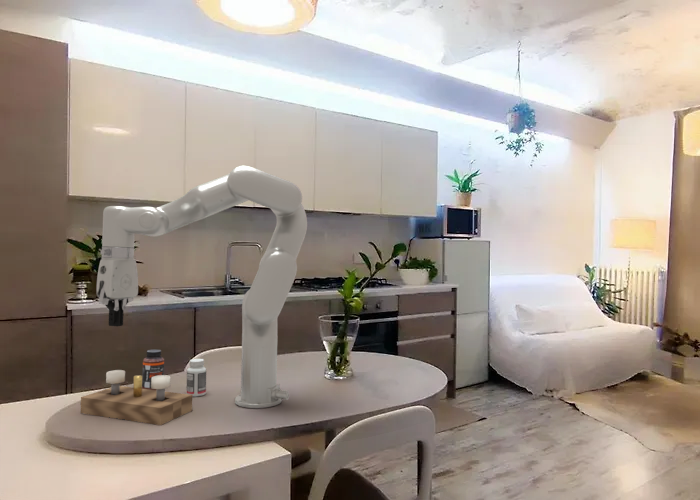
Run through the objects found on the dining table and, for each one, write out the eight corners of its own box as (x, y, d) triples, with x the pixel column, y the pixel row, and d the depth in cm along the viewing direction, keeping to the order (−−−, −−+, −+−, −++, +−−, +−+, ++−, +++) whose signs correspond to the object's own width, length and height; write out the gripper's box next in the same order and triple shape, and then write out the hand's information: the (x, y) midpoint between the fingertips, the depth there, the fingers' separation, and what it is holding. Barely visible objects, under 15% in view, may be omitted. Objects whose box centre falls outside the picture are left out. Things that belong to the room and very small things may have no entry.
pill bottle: (205, 391, 148) (205, 357, 149) (206, 396, 143) (207, 361, 143) (185, 392, 147) (186, 358, 147) (186, 397, 142) (187, 362, 142)
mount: (192, 410, 130) (192, 394, 130) (160, 425, 119) (161, 408, 119) (116, 400, 138) (117, 385, 138) (80, 413, 126) (81, 397, 126)
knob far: (128, 394, 132) (128, 371, 132) (115, 399, 128) (116, 374, 128) (114, 393, 133) (115, 369, 133) (101, 397, 129) (102, 373, 129)
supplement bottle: (149, 392, 146) (150, 353, 146) (137, 389, 149) (138, 350, 149) (167, 388, 150) (168, 350, 150) (156, 385, 154) (157, 347, 154)
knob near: (173, 400, 127) (174, 376, 127) (161, 405, 123) (162, 380, 123) (159, 398, 129) (159, 374, 129) (147, 403, 125) (147, 378, 125)
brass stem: (143, 395, 129) (143, 375, 129) (137, 397, 127) (138, 377, 127) (137, 394, 130) (137, 374, 130) (131, 396, 128) (131, 376, 128)
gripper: (107, 254, 122) (104, 330, 122) (150, 255, 137) (147, 323, 136) (83, 253, 125) (80, 328, 125) (127, 254, 139) (125, 321, 139)
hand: (115, 325), depth 131 cm, fingers closed
